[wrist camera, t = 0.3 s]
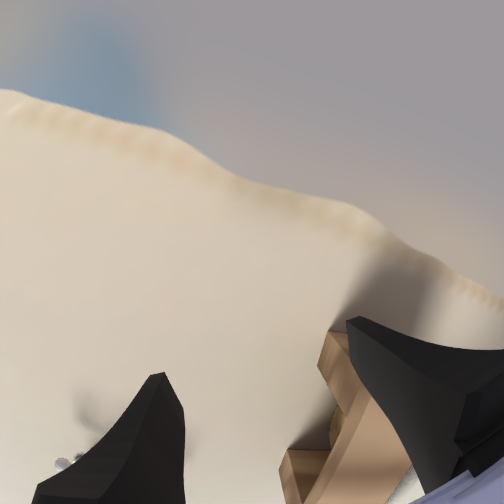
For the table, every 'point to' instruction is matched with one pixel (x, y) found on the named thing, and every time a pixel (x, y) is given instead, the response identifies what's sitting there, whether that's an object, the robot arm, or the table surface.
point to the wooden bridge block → (347, 444)
